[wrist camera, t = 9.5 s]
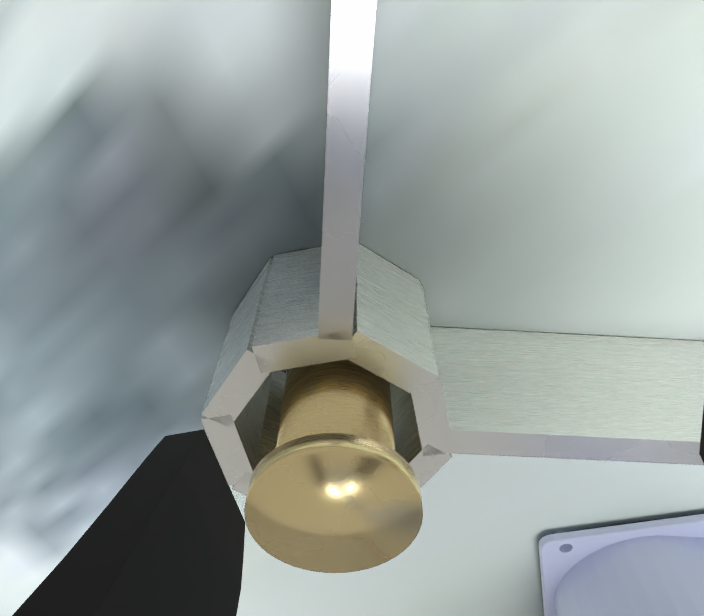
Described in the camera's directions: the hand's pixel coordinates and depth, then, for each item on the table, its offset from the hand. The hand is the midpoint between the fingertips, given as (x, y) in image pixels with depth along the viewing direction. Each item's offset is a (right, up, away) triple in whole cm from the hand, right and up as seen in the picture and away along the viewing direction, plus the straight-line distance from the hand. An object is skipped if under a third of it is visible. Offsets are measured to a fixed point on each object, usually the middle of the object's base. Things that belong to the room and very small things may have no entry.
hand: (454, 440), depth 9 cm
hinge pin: (-2, +1, +11) cm, 12 cm away
